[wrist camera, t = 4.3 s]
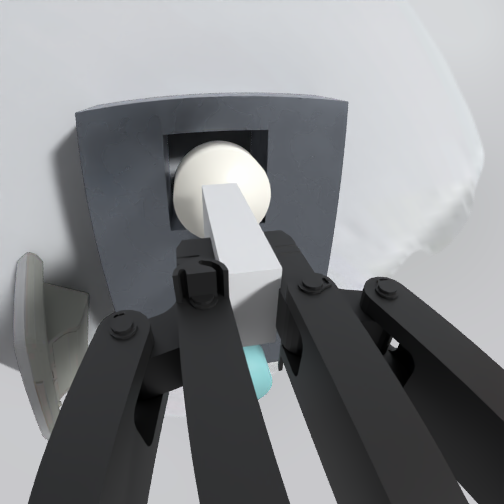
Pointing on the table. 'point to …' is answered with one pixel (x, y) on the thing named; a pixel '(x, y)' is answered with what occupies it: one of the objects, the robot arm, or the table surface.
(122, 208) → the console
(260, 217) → the knob inner
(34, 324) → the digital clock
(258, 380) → the knob outer
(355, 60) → the table surface
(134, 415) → the robot arm
